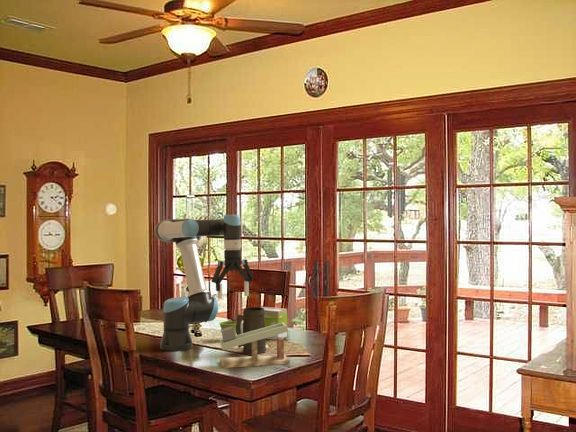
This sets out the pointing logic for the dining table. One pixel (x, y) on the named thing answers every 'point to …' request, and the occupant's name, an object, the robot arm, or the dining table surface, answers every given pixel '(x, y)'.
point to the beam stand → (258, 357)
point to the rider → (228, 334)
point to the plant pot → (228, 325)
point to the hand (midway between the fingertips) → (233, 297)
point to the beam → (255, 335)
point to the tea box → (275, 319)
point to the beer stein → (252, 327)
